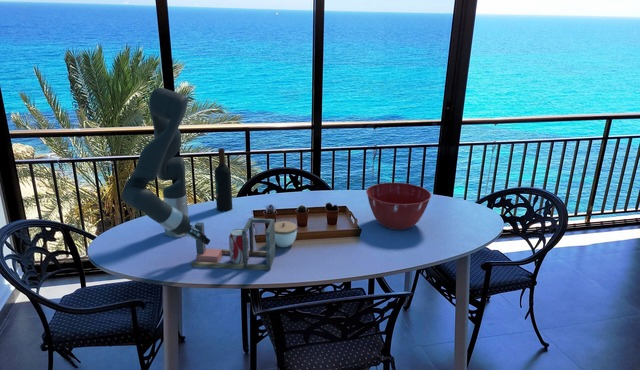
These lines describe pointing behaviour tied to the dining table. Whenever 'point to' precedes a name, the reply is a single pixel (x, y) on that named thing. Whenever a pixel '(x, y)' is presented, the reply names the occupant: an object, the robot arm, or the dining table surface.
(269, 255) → the grey bar frame
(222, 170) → the wine bottle
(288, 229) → the lidded jar
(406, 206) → the mixing bowl
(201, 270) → the dining table surface
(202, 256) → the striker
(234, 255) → the soda can
